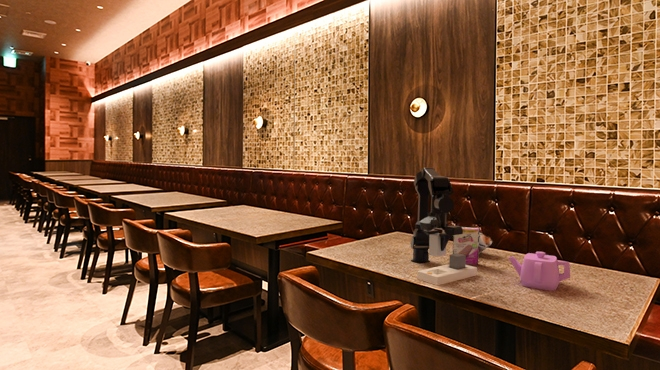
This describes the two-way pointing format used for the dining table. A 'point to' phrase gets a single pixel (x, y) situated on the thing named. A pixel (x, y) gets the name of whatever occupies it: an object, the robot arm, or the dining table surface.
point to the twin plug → (457, 261)
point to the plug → (435, 246)
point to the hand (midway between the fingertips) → (437, 249)
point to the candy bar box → (467, 244)
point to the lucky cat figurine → (484, 242)
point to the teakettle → (541, 271)
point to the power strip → (445, 274)
